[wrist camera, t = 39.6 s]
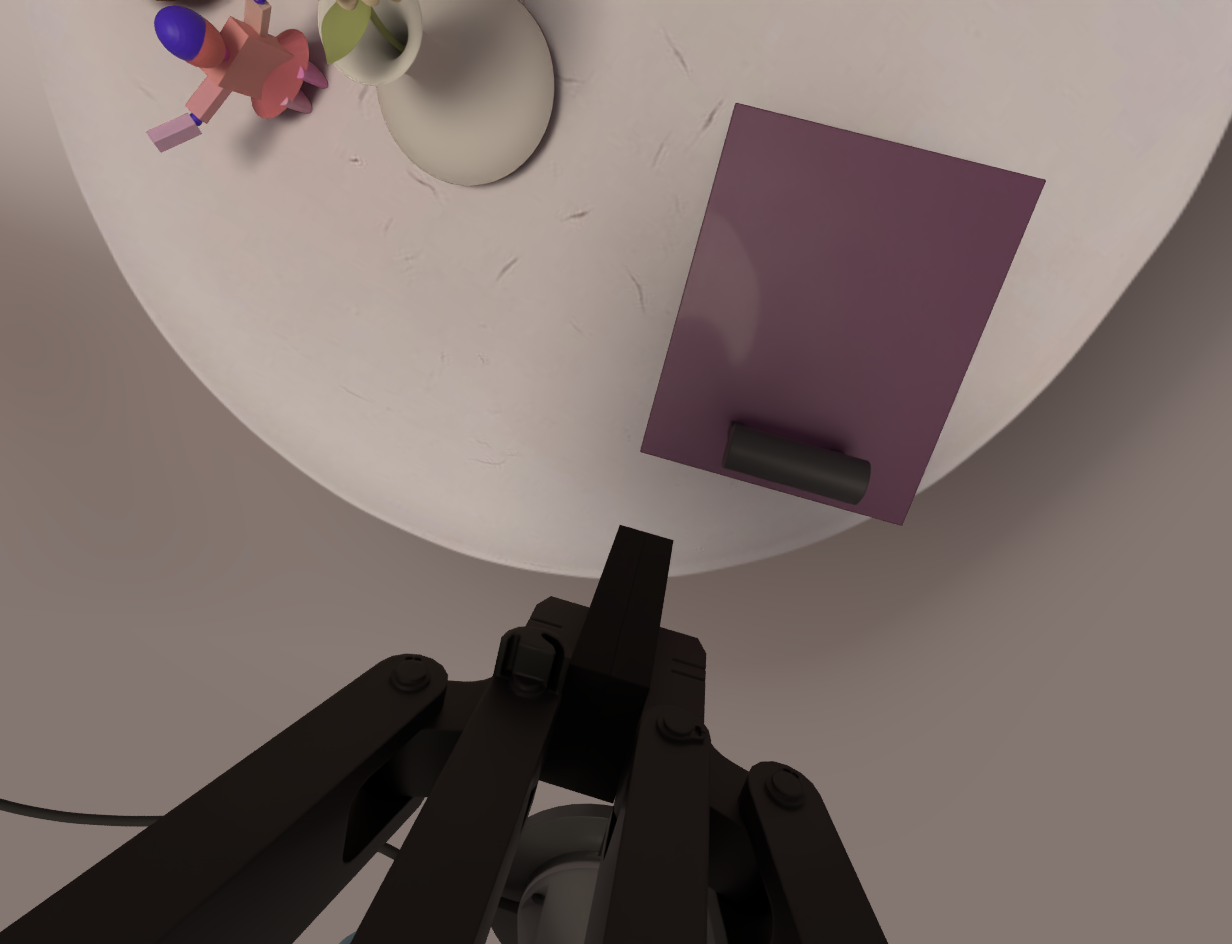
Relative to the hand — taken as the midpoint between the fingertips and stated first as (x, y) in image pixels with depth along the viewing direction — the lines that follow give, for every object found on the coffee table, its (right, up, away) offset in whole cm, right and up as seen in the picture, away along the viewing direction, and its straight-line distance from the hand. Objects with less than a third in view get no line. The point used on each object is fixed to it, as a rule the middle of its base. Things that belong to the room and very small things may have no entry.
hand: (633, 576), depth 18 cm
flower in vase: (-9, +28, +25) cm, 39 cm away
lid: (+9, +10, +14) cm, 19 cm away
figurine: (-22, +28, +27) cm, 45 cm away
